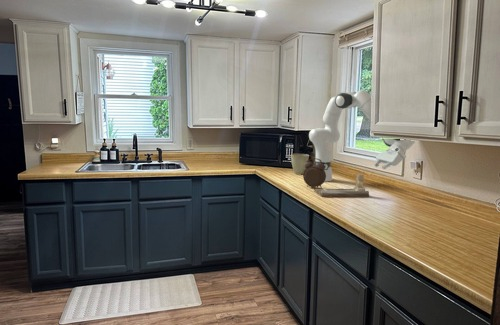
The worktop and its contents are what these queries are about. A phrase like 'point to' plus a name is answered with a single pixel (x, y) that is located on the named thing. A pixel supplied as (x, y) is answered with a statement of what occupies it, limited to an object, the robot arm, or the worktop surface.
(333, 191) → the walnut board
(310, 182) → the alarm clock
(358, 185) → the stacked beige blocks
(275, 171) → the worktop surface
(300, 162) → the plant pot
